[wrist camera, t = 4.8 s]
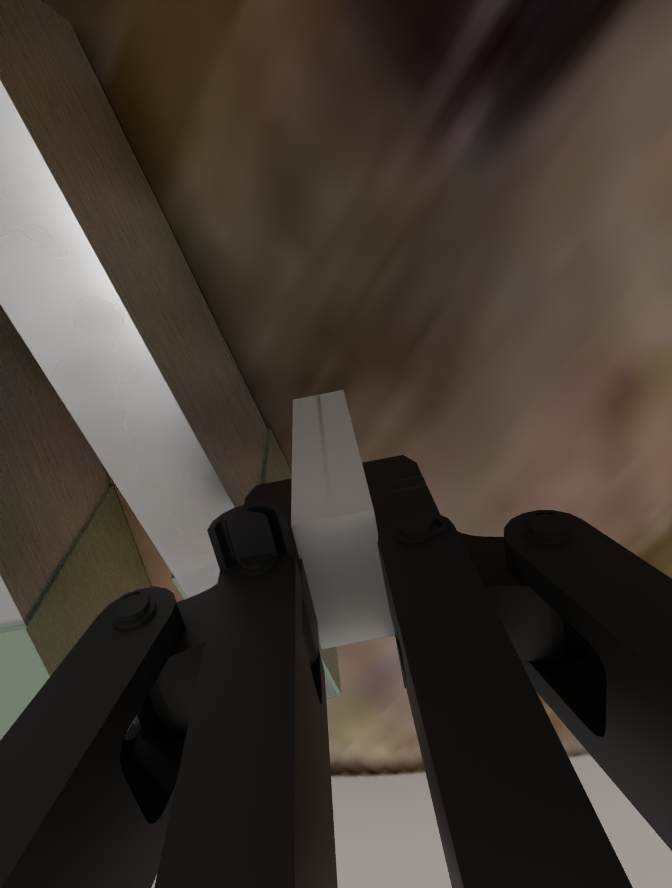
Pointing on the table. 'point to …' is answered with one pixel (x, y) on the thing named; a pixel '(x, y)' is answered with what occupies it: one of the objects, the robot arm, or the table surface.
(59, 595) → the base
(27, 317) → the tong jaw
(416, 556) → the robot arm
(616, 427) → the table surface
